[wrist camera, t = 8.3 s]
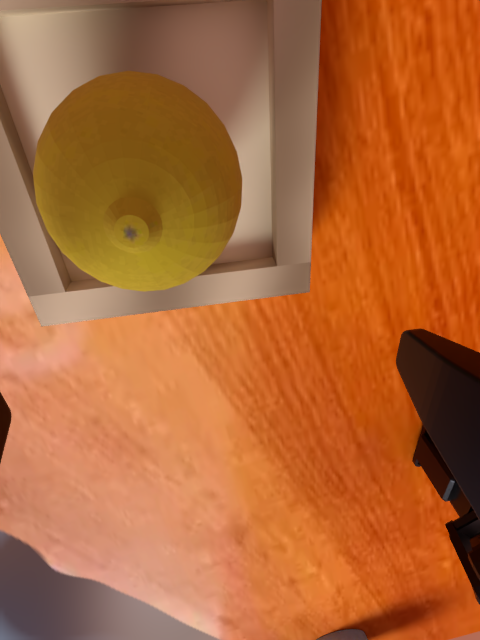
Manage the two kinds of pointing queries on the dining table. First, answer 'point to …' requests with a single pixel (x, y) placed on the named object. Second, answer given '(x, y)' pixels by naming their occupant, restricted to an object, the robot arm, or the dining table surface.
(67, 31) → the base
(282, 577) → the dining table surface
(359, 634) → the gray tapered pot
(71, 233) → the lemon
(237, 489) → the dining table surface
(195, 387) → the dining table surface
